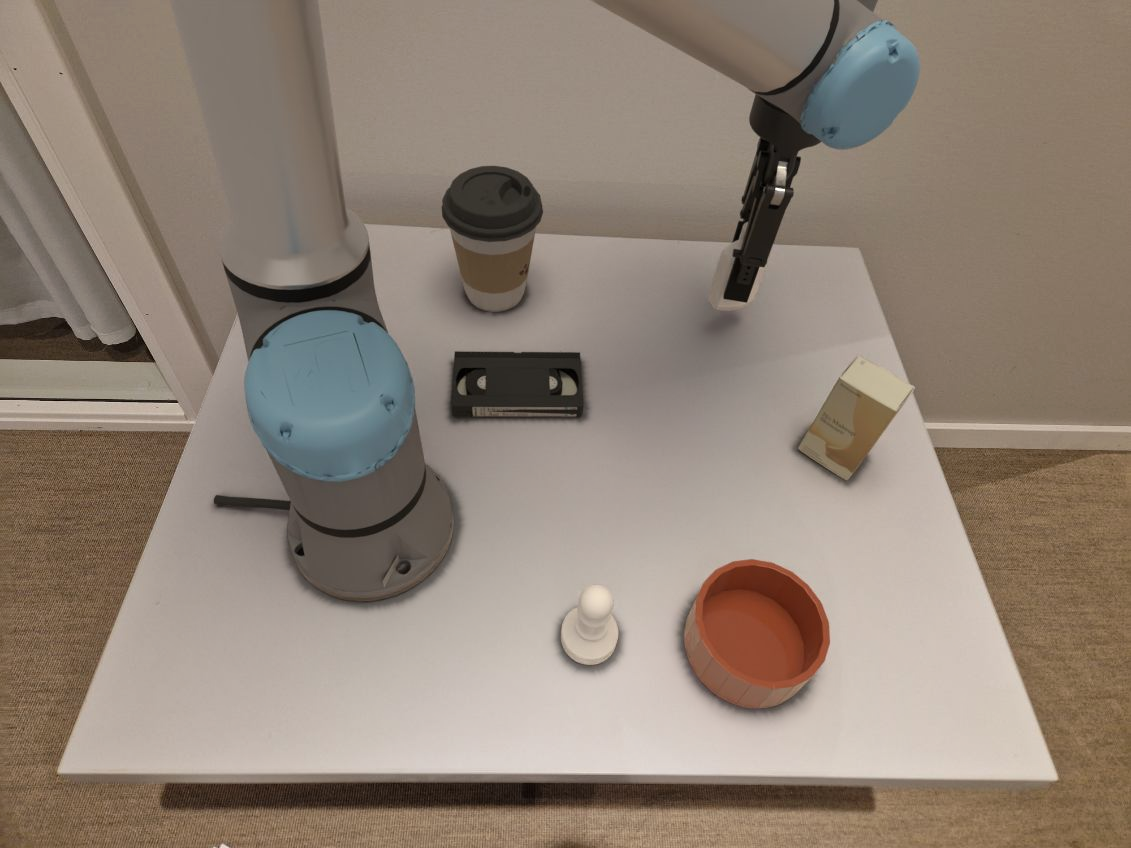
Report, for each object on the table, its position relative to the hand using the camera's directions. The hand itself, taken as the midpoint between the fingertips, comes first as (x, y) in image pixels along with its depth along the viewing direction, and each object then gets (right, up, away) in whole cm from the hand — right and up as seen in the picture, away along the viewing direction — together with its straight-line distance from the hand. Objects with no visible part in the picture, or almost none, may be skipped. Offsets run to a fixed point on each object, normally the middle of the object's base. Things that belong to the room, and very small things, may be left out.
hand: (735, 283), depth 85 cm
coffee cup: (-29, 0, +6) cm, 29 cm away
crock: (-4, -36, -20) cm, 41 cm away
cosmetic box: (+9, -20, -6) cm, 23 cm away
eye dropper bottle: (0, -2, +2) cm, 3 cm away
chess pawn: (-18, -36, -20) cm, 45 cm away
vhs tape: (-25, -13, -3) cm, 28 cm away
